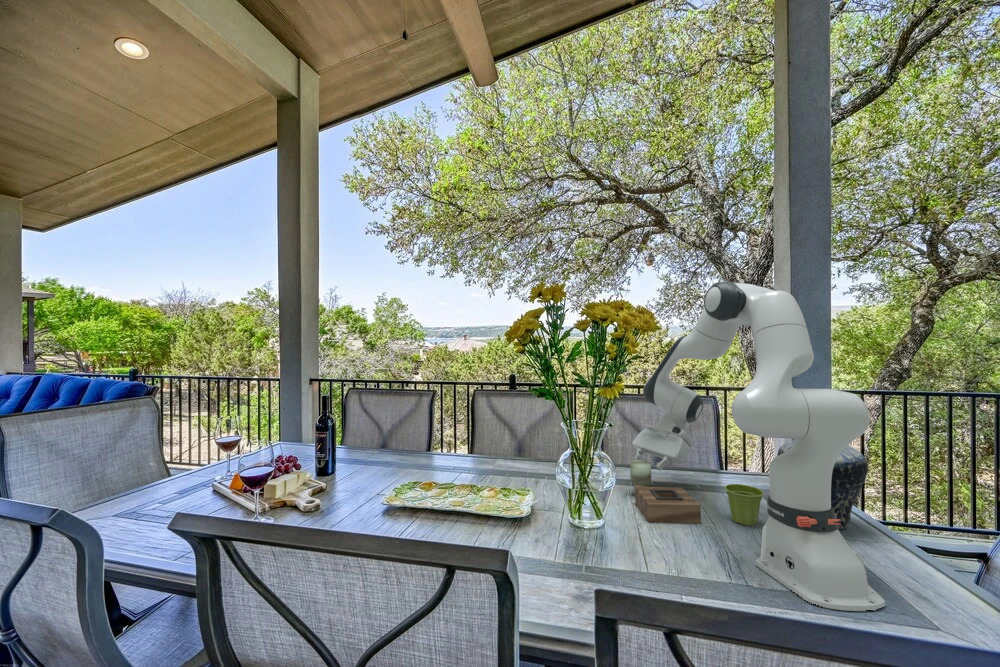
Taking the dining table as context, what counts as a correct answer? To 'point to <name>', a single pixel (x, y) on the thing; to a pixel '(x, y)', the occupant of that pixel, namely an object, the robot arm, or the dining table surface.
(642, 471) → the peg
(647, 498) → the hole block
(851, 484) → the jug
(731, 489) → the plant pot
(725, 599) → the dining table surface
